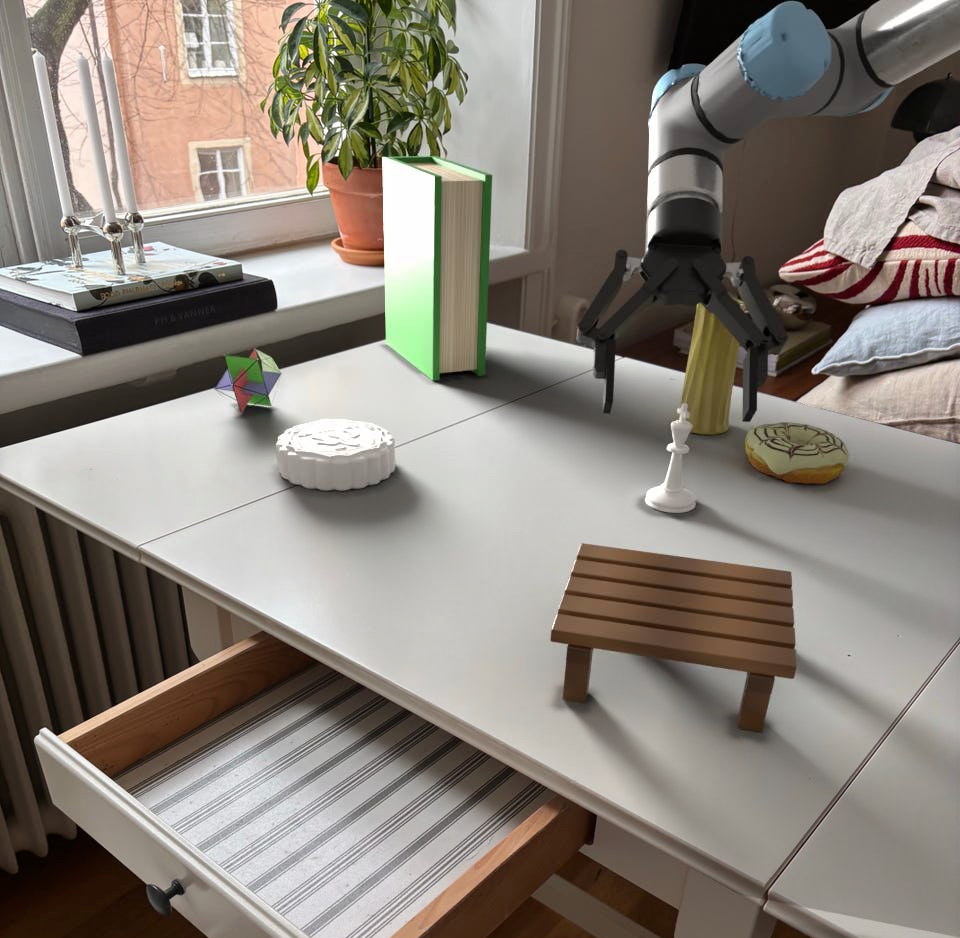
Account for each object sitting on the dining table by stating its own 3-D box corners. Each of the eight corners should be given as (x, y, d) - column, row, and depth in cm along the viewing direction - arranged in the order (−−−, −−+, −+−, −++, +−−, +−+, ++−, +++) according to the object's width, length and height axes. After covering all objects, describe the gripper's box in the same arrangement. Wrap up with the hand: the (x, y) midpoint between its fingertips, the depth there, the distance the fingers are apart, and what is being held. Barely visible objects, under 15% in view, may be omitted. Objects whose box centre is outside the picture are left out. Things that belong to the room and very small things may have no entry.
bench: (777, 631, 78) (791, 569, 75) (780, 737, 66) (797, 669, 63) (575, 601, 80) (581, 540, 78) (544, 698, 69) (550, 631, 66)
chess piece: (658, 515, 95) (672, 414, 90) (637, 494, 99) (649, 397, 94) (704, 510, 96) (721, 411, 91) (681, 490, 100) (696, 393, 95)
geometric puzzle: (255, 407, 110) (270, 338, 111) (199, 400, 112) (214, 332, 112) (280, 427, 117) (293, 362, 118) (227, 420, 119) (241, 356, 119)
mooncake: (304, 501, 95) (302, 466, 93) (261, 458, 104) (258, 425, 102) (415, 478, 100) (415, 445, 98) (365, 439, 109) (364, 408, 107)
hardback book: (484, 375, 130) (492, 174, 117) (432, 380, 127) (434, 176, 114) (434, 339, 143) (435, 155, 130) (385, 343, 141) (382, 156, 128)
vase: (698, 413, 120) (717, 292, 112) (739, 428, 116) (761, 303, 108) (665, 423, 116) (682, 299, 109) (706, 439, 112) (727, 311, 105)
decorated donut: (774, 492, 100) (781, 457, 98) (724, 453, 109) (729, 420, 107) (863, 483, 103) (871, 449, 101) (807, 446, 112) (814, 413, 110)
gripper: (797, 246, 103) (797, 435, 98) (558, 234, 104) (547, 421, 99) (820, 199, 96) (821, 401, 91) (562, 187, 97) (550, 386, 92)
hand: (678, 412), depth 95 cm, fingers open, 13 cm apart
